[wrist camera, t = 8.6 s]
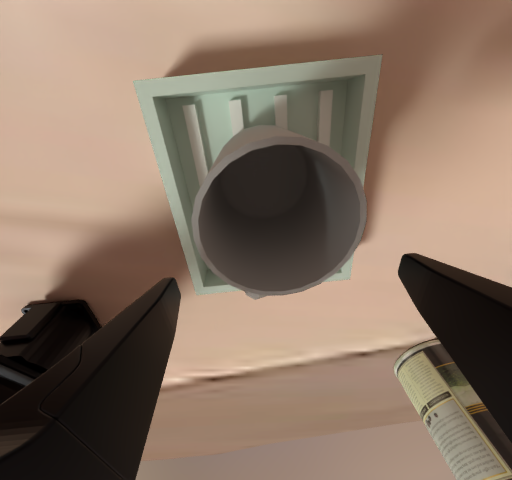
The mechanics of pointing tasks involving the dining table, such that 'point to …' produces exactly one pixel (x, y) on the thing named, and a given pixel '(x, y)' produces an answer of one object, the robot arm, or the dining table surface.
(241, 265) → the cup
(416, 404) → the coffee can
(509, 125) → the dining table surface
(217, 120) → the drying rack
